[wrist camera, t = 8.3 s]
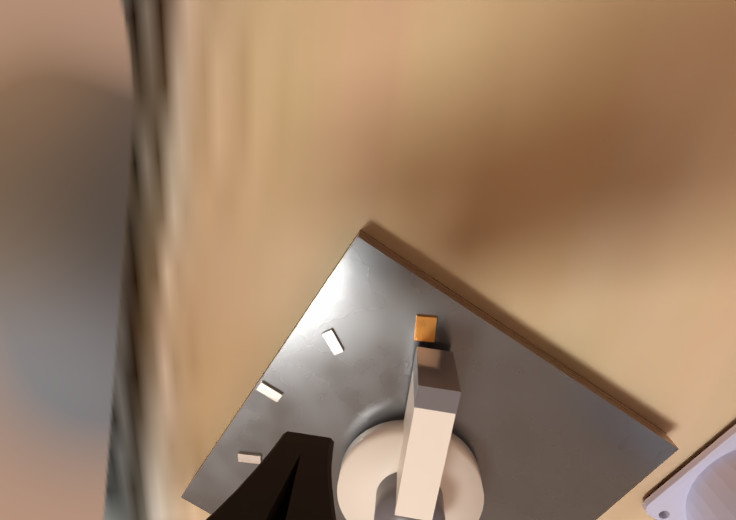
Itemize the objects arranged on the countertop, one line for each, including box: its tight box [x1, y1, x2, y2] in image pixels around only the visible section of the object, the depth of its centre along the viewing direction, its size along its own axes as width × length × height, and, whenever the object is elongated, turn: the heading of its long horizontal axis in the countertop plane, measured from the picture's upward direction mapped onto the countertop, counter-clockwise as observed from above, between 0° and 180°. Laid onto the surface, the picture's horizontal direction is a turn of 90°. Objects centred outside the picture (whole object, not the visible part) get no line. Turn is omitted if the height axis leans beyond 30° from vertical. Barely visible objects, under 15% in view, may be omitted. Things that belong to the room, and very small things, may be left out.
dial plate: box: [182, 230, 678, 520], centre depth 22 cm, size 18×18×1 cm
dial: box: [337, 346, 484, 520], centre depth 19 cm, size 11×7×3 cm, turn 173°
